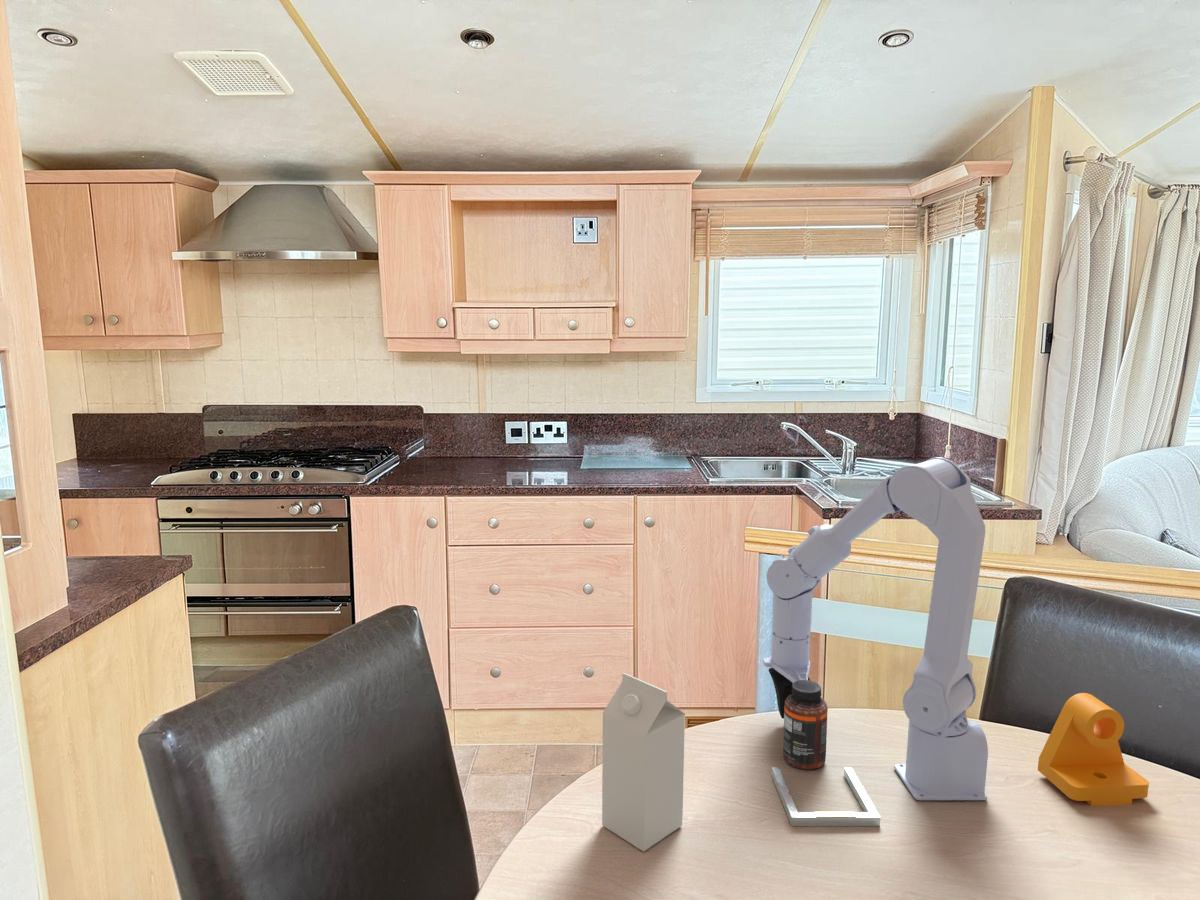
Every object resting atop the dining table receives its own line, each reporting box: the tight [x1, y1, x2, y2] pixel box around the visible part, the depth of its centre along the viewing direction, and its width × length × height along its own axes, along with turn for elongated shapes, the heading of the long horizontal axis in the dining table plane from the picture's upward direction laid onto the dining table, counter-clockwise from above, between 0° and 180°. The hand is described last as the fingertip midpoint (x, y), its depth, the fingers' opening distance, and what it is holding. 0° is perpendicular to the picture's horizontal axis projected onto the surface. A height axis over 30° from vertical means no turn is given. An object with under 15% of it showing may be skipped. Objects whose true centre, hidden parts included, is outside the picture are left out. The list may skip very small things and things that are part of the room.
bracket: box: [1037, 692, 1150, 807], centre depth 105 cm, size 11×7×12 cm, turn 94°
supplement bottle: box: [782, 680, 829, 770], centre depth 111 cm, size 6×6×11 cm
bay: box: [771, 767, 881, 827], centre depth 103 cm, size 11×11×1 cm
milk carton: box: [601, 672, 686, 852], centre depth 96 cm, size 7×7×19 cm
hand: (787, 716), depth 122 cm, fingers closed
